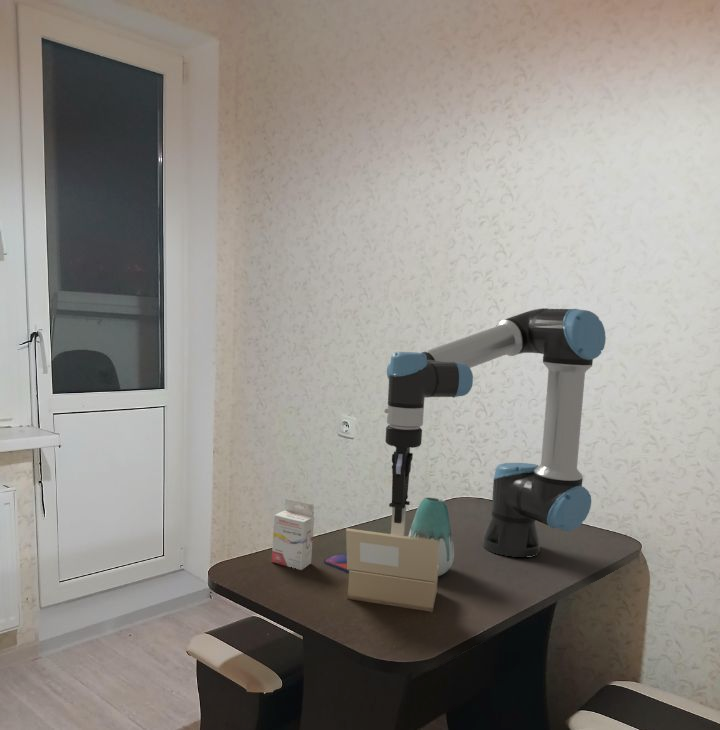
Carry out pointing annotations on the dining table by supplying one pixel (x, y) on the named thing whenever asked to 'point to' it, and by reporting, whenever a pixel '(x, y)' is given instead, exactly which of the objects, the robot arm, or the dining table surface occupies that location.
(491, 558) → the dining table surface
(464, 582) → the dining table surface
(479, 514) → the dining table surface
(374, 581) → the box
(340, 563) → the smartphone
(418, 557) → the lid
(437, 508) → the vase
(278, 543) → the ink cartridge box
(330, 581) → the dining table surface
